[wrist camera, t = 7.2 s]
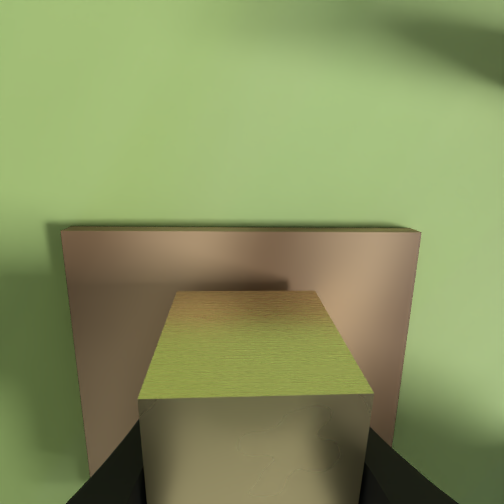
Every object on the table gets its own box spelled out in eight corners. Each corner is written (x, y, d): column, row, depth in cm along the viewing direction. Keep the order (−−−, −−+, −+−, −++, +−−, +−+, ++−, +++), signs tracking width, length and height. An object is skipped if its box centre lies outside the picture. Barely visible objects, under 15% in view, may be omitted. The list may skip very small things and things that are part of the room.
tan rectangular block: (314, 290, 12) (374, 393, 7) (298, 496, 14) (333, 674, 9) (176, 291, 11) (137, 399, 7) (186, 500, 14) (163, 686, 9)
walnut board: (409, 228, 13) (421, 232, 12) (378, 472, 16) (386, 489, 15) (71, 226, 12) (60, 230, 11) (100, 483, 15) (93, 501, 14)
